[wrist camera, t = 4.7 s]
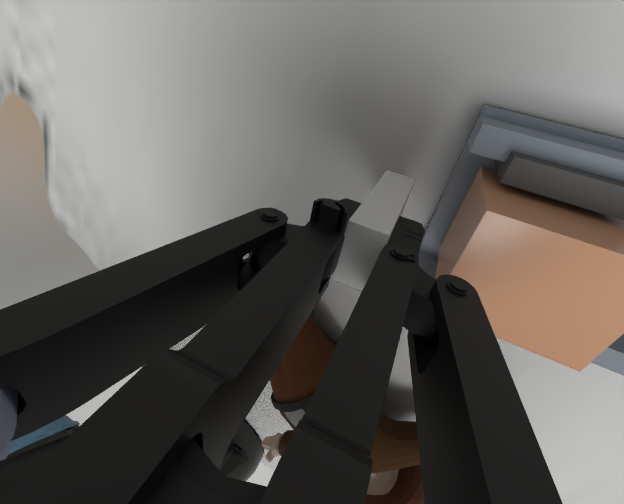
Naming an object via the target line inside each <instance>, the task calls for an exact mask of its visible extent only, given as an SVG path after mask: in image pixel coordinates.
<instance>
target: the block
mask: <svg viewBox="0 0 624 504" xmlns="http://www.w3.org/2000/svg"><path fill="white" fill-rule="evenodd" d="M444 274H448V275H454V276H457V277H460V278H462V279H464V280H466V281H467V282H469V283H470V284H471V285H472V286H473V287H474V288H475V289H476V291H477V292H478V295H479V297H480V300H481V302H482V305H483V307H484V310H485V312H486V315H487V317H488V320H489V322H490V325H491V327H492V330H493V332H494V334H495V337H497V338H500V339H502V340H505V341H507V342H510V343H512V344H514V345H517V346H519V347H522V348H524V349H526V350H529V351H531V352H534V353H536V354H539V355H541V356H543V357H546V358H548V359H551V360H553V361H555V362H558V363H560V364H563V365H565V366H568V367H570V368H572V369H575V370H577V371H581V370H582V369H583V368H584V367H585V366H587V365H588V364H589V363H590V362H591V361H592V360H594V359H595V358H596V357H597V356H598V355H599V354H600V353H602V352H603V351H604V350H605V349H606V348H607V347H609V346H610V345H611V344H612V343H613V342H614V341H615V340H617V339H618V338H619V337H620V336H621V335H622V334H624V220H621V219H618V218H615V217H612V216H608V215H605V214H602V213H598V212H595V211H592V210H588V209H585V208H582V207H579V206H575V205H572V204H569V203H565V202H562V201H559V200H555V199H552V198H549V197H546V196H542V195H539V194H536V193H532V192H529V191H526V190H522V189H519V188H516V187H513V186H509V185H506V184H503V183H500V181H499V177H498V174H497V170H494V169H491V168H487V167H484V166H481V167H480V169H479V171H478V173H477V175H476V177H475V179H474V181H473V183H472V185H471V187H470V189H469V191H468V193H467V195H466V197H465V199H464V201H463V202H462V204H461V206H460V208H459V210H458V212H457V214H456V216H455V218H454V220H453V222H452V224H451V226H450V228H449V230H448V232H447V234H446V236H445V238H444V240H443V242H442V244H441V246H440V249H439V256H438V262H437V269H436V275H435V279H437V278H438V277H439V276H440V275H444Z"/></svg>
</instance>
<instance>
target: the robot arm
mask: <svg viewBox="0 0 624 504" xmlns="http://www.w3.org/2000/svg"><path fill="white" fill-rule="evenodd" d="M414 181H415V179H414V178H411V177H408V176H405V175H401V174H398V173H395V172H392V171H389V170H387V171H386V172H385V173H384V175H383V176H382V177H381V178H380V180H379V181H378V182H377V184H376V185H375V186H374V188H373V189H372V190H371V192H370V193H369V194H368V196H367V197H366V198H365V199H364V201H363V202H362V203H358V202H356V201H353V200H350V199H347V198H345V199H342V200H339V201H336V200H332V199H325V198H323V199H317V200H315V201H314V203H313V208H312V213H311V218H310V221H309V222H308V223H307V224H306V225H305V226H297V225H292V224H287V221H288V217H287V216H286V214H284V213H283V212H282V211H279V210H277V209H274V208H261V209H257V210H254V211H252V212H249V213H247V214H244V215H242V216H239V217H237V218H234V219H231V220H229V221H226V222H224V223H221V224H219V225H216V226H213V227H211V228H208V229H206V230H203V231H201V232H198V233H196V234H193V235H190V236H188V237H185V238H183V239H180V240H178V241H175V242H173V243H170V244H167V245H165V246H162V247H160V248H157V249H155V250H152V251H149V252H147V253H144V254H142V255H139V256H137V257H134V258H132V259H129V260H126V261H124V262H121V263H119V264H116V265H114V266H111V267H109V268H106V269H103V270H101V271H98V272H96V273H93V274H91V275H88V276H86V277H83V278H80V279H78V280H75V281H73V282H70V283H68V284H65V285H62V286H60V287H57V288H55V289H52V290H50V291H47V292H45V293H42V294H39V295H37V296H34V297H32V298H29V299H27V300H24V301H22V302H19V303H16V304H14V305H11V306H9V307H6V308H4V309H1V310H0V504H364V503H365V499H366V495H367V490H368V486H369V482H370V477H371V472H372V465H373V460H372V458H371V450H372V445H373V441H374V437H375V433H376V429H377V426H378V422H379V418H380V414H381V410H382V406H383V402H384V398H385V394H386V390H387V386H388V382H389V378H390V374H391V370H392V367H393V363H394V359H395V355H396V351H397V347H398V343H399V339H400V335H401V331H402V327H405V328H406V329H408V330H409V331H408V346H409V356H410V365H411V375H412V385H413V395H414V404H415V414H416V424H417V433H418V443H419V453H420V463H421V472H422V482H423V492H424V501H425V504H562V501H561V499H560V496H559V494H558V491H557V489H556V486H555V484H554V481H553V479H552V476H551V474H550V471H549V469H548V466H547V464H546V461H545V459H544V456H543V454H542V451H541V449H540V447H539V444H538V442H537V439H536V437H535V434H534V432H533V429H532V427H531V424H530V422H529V419H528V417H527V414H526V412H525V409H524V407H523V404H522V402H521V399H520V397H519V394H518V392H517V389H516V387H515V384H514V382H513V379H512V377H511V374H510V372H509V369H508V367H507V364H506V362H505V359H504V357H503V354H502V352H501V349H500V347H499V344H498V342H497V339H496V337H495V334H494V332H493V330H492V327H491V325H490V322H489V320H488V317H487V315H486V312H485V310H484V307H483V305H482V302H481V300H480V297H479V295H478V292H477V291H476V289H475V288H474V287H473V286H472V285H471V284H470V283H469V282H467V281H466V280H464V279H462V278H460V277H457V276H454V275H448V274H444V275H440V276H439V277H438V278H437V279H435V278H433V277H432V276H430V275H429V274H427V273H426V272H425V271H423V270H422V269H421V267H420V266H419V257H418V255H419V251H420V247H421V243H422V239H423V236H424V232H425V230H424V228H423V226H422V224H421V223H418V222H416V221H413V220H410V219H407V218H404V217H401V215H402V212H403V209H404V207H405V204H406V202H407V199H408V197H409V194H410V191H411V189H412V186H413V184H414ZM248 253H249V257H248V258H246V259H244V260H243V256H245V255H246V254H248ZM333 272H334V274H333V277H332V279H333V280H336V281H338V282H341V283H343V284H345V285H348V286H350V287H353V288H355V289H357V290H360V291H362V293H361V295H360V297H359V299H358V301H357V303H356V305H355V308H354V310H353V312H352V314H351V316H350V318H349V320H348V322H347V325H346V327H345V329H344V331H343V333H342V335H341V337H340V339H339V342H338V344H337V346H336V348H335V350H334V352H333V354H332V356H331V359H330V361H329V363H328V365H327V367H326V369H325V371H324V373H323V375H322V378H321V380H320V382H319V384H318V386H317V388H316V390H315V392H314V395H313V397H312V399H311V401H310V403H309V405H308V407H307V409H306V411H305V414H304V415H303V417H302V419H300V421H299V422H298V424H297V426H296V428H295V430H294V432H293V434H292V436H291V438H290V440H289V442H288V444H287V446H286V448H285V450H284V452H283V455H282V457H281V459H280V461H279V463H278V465H277V467H276V469H275V471H274V473H273V475H272V478H271V480H270V482H269V484H268V486H267V487H266V486H262V485H258V484H254V483H250V482H246V480H247V479H248V478H249V477H250V476H251V475H252V474H253V473H254V472H255V470H256V468H257V466H258V464H259V462H260V461H261V459H262V457H263V447H262V444H261V442H260V440H259V438H258V436H257V435H256V434H255V432H254V431H253V430H252V428H251V427H250V426H249V425H248V424H247V423H246V422H245V421H244V420H245V418H246V416H247V415H248V413H249V412H250V410H251V408H252V407H253V405H254V404H255V402H256V400H257V399H258V397H259V396H260V394H261V392H262V391H263V389H264V388H265V386H266V384H267V383H268V381H269V380H270V378H271V376H272V375H273V373H274V372H275V370H276V368H277V367H278V365H279V364H280V362H281V360H282V359H283V357H284V356H285V354H286V352H287V351H288V349H289V348H290V346H291V344H292V343H293V341H294V339H295V338H296V336H297V335H298V333H299V331H300V330H301V328H302V327H303V325H304V323H305V322H306V320H307V319H308V317H309V315H310V314H311V312H312V311H313V309H314V307H315V306H316V304H317V303H318V301H319V299H320V298H321V296H322V295H323V293H324V291H325V290H326V288H327V287H328V284H329V280H330V276H331V275H332V273H333ZM206 324H207V325H206ZM205 325H206V326H205ZM203 326H205V327H204V328H203V329H202V330H201V331H200V332H199V333H198V334H197V335H196V336H195V337H194V338H193V339H192V340H191V341H190V342H189V343H188V344H187V345H186V346H185V347H183V348H182V349H181V350H178V351H175V350H171V349H169V348H171V347H172V346H174V345H176V344H177V343H179V342H180V341H182V340H183V339H185V338H186V337H188V336H189V335H191V334H192V333H194V332H196V331H197V330H199V329H200V328H202V327H203ZM146 363H147V364H146ZM145 364H146V365H145ZM143 365H145V366H144V367H142V366H143ZM140 367H142V368H141V369H140V370H139V371H138V372H137V373H136V374H135V375H134V376H133V377H132V378H131V379H130V380H129V381H128V382H127V383H125V384H124V385H123V386H122V387H121V388H120V389H119V390H118V391H117V392H116V393H115V394H114V395H113V396H112V397H111V398H109V399H108V400H107V401H106V402H105V403H104V404H103V405H102V406H101V407H100V408H99V409H98V410H97V411H96V412H95V413H94V414H92V415H91V416H90V417H89V418H88V419H87V420H86V421H85V422H84V423H83V424H82V425H81V426H80V427H79V426H78V425H79V422H77V421H73V420H71V419H70V418H69V417H68V416H66V414H68V413H70V412H71V411H73V410H75V409H76V408H78V407H80V406H81V405H83V404H85V403H86V402H88V401H89V400H91V399H92V398H94V397H95V396H97V395H99V394H100V393H102V392H103V391H105V390H106V389H108V388H109V387H111V386H112V385H114V384H115V383H117V382H119V381H120V380H122V379H123V378H125V377H126V376H128V375H129V374H131V373H132V372H134V371H135V370H137V369H139V368H140Z"/></svg>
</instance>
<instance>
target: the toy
mask: <svg viewBox="0 0 624 504" xmlns="http://www.w3.org/2000/svg"><path fill="white" fill-rule="evenodd" d="M335 348H336V345H335V344H334V343H333V342H332V341H331V340H330V339H329V338H328V337H327V336H326V335H325V334H324V333H323V332H322V331H321V329H320V328H319V327H318V325H317V324H316V322H315V321H314V319H313V318H312V316H311V315H309V317H308V319H307V320H306V322H305V323H304V325H303V327H302V328H301V330H300V331H299V333H298V335H297V336H296V338H295V339H294V341H293V343H292V344H291V346H290V348H289V349H288V351H287V352H286V354H285V356H284V357H283V359H282V360H281V362H280V364H279V365H278V367H277V368H276V370H275V372H274V373H273V375H272V376H271V378H270V382H271V386H272V390H273V392H272V395H271V400H272V403H273V405H274V407H275V408H276V409H278V410H279V411H280V413H281V415H282V416H283V417H284V418H285V419H286V421H287V422H288V423H289V424H290V426H291V427H292V428H293V429H294V430H295V428H296V426H297V424H298V422H299V421H300V419H302V417H303V415H304V414H305V411H306V409H307V407H308V405H309V403H310V401H311V399H312V397H313V395H314V392H315V390H316V388H317V386H318V384H319V382H320V380H321V378H322V375H323V373H324V371H325V369H326V367H327V365H328V363H329V361H330V359H331V356H332V354H333V352H334V350H335ZM294 430H288V431H286V432H285V433H284V434H281V433H277V434H276V435H274V436H269V437H266V438H265V439H264V440H263V442H262V447H263V448H264V449H267V450H269V452H268V453H267V455H266V459H267V461H268V462H271V460H272V459H273V457H275V456H277V455H281V456H282V455H283V452H284V450H285V448H286V446H287V444H288V442H289V440H290V438H291V436H292V434H293V432H294ZM371 458H372V460H373V465H372V472H371V477H370V482H369V486H368V490H367V495H366V499H365V503H364V504H425V501H424V492H423V482H422V472H421V465H420V464H421V463H420V453H419V443H418V433H417V424H416V422H408V421H395V420H393V419H391V418H389V417H387V416H385V415H384V414H383V413H382V412H381V414H380V418H379V422H378V426H377V429H376V433H375V437H374V441H373V445H372V450H371Z"/></svg>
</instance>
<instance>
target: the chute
mask: <svg viewBox="0 0 624 504" xmlns="http://www.w3.org/2000/svg"><path fill="white" fill-rule="evenodd" d="M481 166H484V167H487V168H491V169H494V170H497V174H498V177H499V181H500V183H503V184H506V185H509V186H513V187H516V188H519V189H522V190H526V191H529V192H532V193H536V194H539V195H542V196H546V197H549V198H552V199H555V200H559V201H562V202H565V203H569V204H572V205H575V206H579V207H582V208H585V209H588V210H592V211H595V212H598V213H602V214H605V215H608V216H612V217H615V218H618V219H621V220H624V139H621V138H617V137H613V136H609V135H605V134H601V133H597V132H593V131H589V130H585V129H581V128H577V127H573V126H569V125H565V124H561V123H557V122H553V121H549V120H545V119H541V118H537V117H533V116H529V115H525V114H521V113H517V112H513V111H509V110H505V109H501V108H497V107H493V106H489V105H485V104H484V106H483V108H482V111H481V113H480V115H479V117H478V119H477V121H476V124H475V126H474V128H473V130H472V132H471V134H470V137H469V139H468V141H467V143H466V145H465V147H464V150H463V152H462V154H461V156H460V158H459V160H458V163H457V165H456V167H455V169H454V171H453V173H452V175H451V178H450V180H449V182H448V184H447V186H446V188H445V191H444V193H443V195H442V197H441V199H440V201H439V204H438V206H437V208H436V210H435V212H434V214H433V217H432V219H431V221H430V223H429V225H428V227H427V230H426V232H425V234H424V236H423V239H422V243H421V247H420V251H419V255H418V257H419V266H420V267H421V269H422V270H423V271H425V272H426V273H427V274H429V275H430V276H432V277H433V278H435V275H436V269H437V262H438V256H439V249H440V246H441V244H442V242H443V240H444V238H445V236H446V234H447V232H448V230H449V228H450V226H451V224H452V222H453V220H454V218H455V216H456V214H457V212H458V210H459V208H460V206H461V204H462V202H463V201H464V199H465V197H466V195H467V193H468V191H469V189H470V187H471V185H472V183H473V181H474V179H475V177H476V175H477V173H478V171H479V169H480V167H481ZM591 362H592V363H594V364H597V365H599V366H602V367H604V368H606V369H609V370H611V371H614V372H616V373H619V374H621V375H624V334H622V335H621V336H620V337H619V338H618V339H617V340H615V341H614V342H613V343H612V344H611V345H610V346H609V347H607V348H606V349H605V350H604V351H603V352H602V353H600V354H599V355H598V356H597V357H596V358H595V359H594V360H592V361H591Z"/></svg>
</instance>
